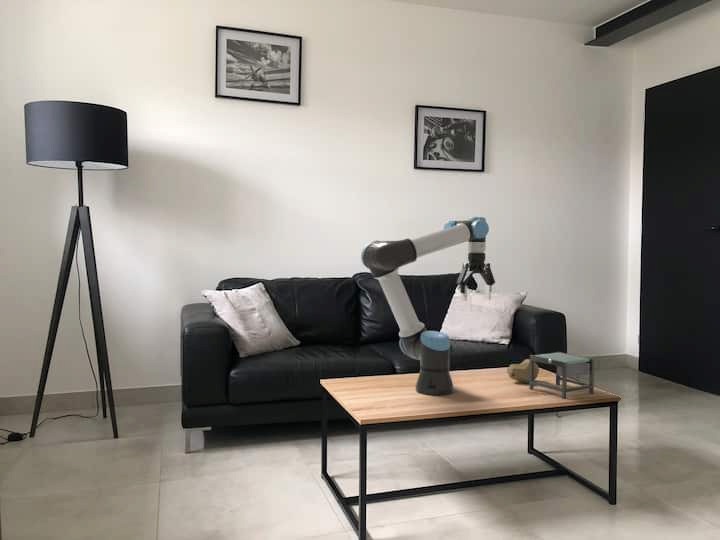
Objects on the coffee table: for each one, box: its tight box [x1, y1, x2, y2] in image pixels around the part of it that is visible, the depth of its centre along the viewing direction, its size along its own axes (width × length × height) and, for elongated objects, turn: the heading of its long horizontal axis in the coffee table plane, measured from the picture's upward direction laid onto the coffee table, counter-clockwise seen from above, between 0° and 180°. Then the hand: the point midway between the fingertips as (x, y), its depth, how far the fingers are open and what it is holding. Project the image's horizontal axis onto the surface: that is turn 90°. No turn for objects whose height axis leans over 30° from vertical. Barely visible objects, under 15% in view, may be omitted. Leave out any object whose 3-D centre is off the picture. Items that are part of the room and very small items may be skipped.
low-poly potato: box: [506, 358, 540, 384], centre depth 256 cm, size 15×11×12 cm
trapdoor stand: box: [528, 351, 595, 400], centre depth 240 cm, size 18×18×14 cm
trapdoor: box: [533, 352, 590, 377], centre depth 240 cm, size 14×16×6 cm
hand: (475, 300), depth 261 cm, fingers open, 13 cm apart
